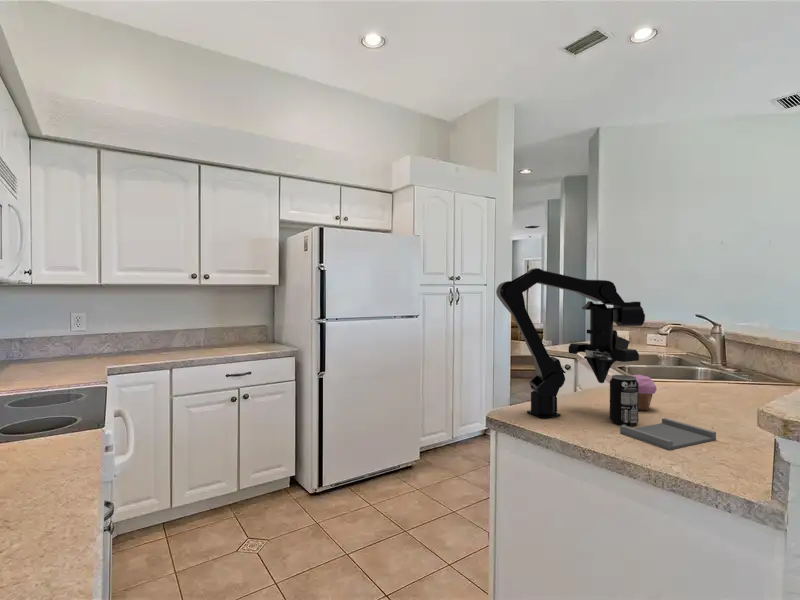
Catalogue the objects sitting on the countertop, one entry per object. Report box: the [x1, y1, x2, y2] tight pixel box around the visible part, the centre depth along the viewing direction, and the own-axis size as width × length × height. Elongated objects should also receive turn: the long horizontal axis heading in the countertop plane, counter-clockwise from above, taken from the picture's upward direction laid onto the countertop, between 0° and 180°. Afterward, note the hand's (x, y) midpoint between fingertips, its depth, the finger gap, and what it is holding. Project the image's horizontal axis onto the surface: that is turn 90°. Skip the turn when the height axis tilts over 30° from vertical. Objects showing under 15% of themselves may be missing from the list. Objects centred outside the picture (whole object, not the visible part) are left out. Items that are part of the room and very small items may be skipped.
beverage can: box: [609, 374, 639, 427], centre depth 109 cm, size 7×7×12 cm
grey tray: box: [619, 417, 717, 451], centre depth 98 cm, size 16×12×2 cm
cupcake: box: [629, 374, 657, 411], centre depth 122 cm, size 9×9×10 cm
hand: (601, 382), depth 115 cm, fingers closed
